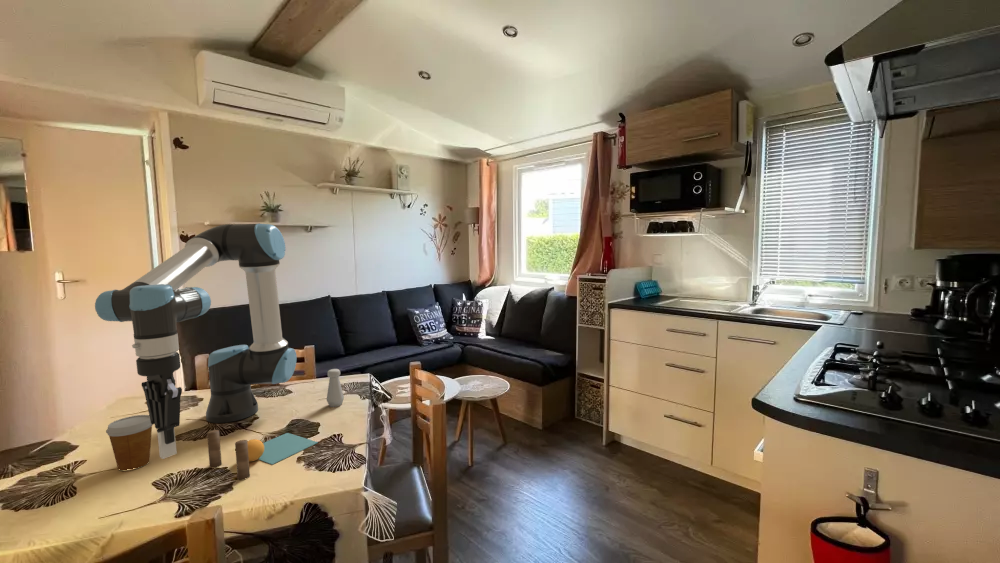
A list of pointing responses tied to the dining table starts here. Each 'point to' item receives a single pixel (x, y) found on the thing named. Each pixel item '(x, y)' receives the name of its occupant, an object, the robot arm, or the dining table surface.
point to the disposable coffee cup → (131, 441)
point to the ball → (255, 449)
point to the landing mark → (284, 447)
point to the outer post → (242, 459)
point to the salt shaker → (334, 389)
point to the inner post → (214, 448)
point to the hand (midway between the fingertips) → (168, 455)
